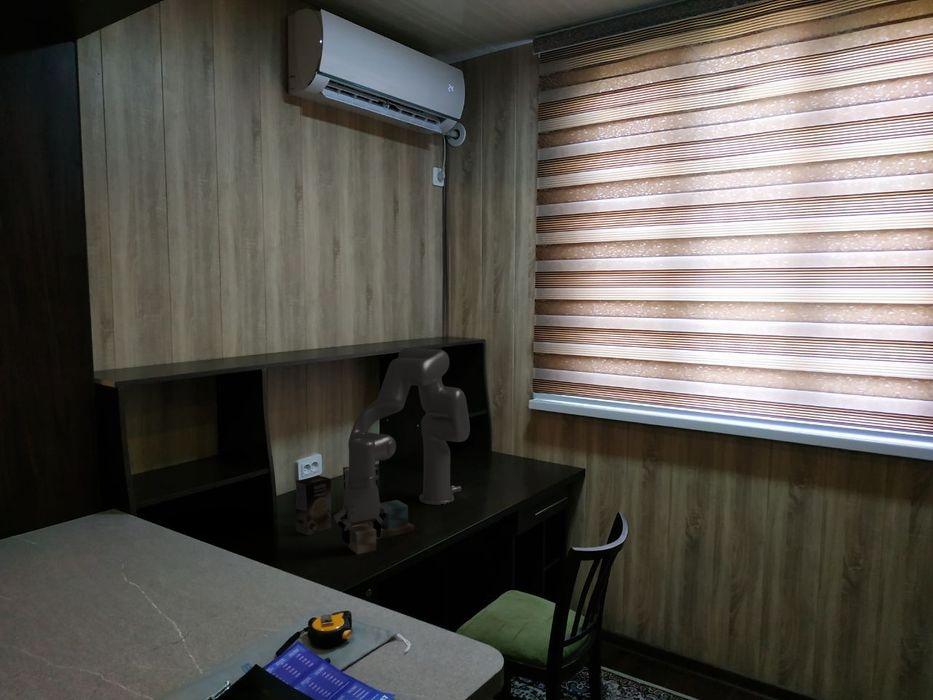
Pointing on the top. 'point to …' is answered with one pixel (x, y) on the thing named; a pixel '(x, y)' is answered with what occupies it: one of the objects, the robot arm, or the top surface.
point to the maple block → (362, 539)
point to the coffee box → (313, 505)
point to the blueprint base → (391, 531)
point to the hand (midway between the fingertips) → (361, 538)
